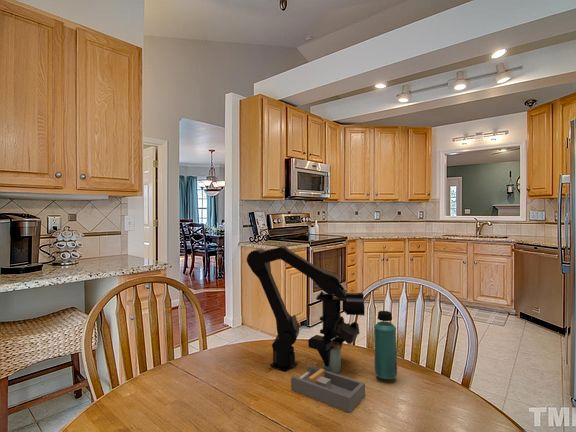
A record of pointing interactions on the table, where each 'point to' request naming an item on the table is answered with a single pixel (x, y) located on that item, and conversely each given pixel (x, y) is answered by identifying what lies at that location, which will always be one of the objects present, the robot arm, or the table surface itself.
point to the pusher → (320, 379)
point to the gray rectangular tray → (330, 389)
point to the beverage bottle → (385, 347)
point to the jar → (334, 359)
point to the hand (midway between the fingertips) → (331, 362)
